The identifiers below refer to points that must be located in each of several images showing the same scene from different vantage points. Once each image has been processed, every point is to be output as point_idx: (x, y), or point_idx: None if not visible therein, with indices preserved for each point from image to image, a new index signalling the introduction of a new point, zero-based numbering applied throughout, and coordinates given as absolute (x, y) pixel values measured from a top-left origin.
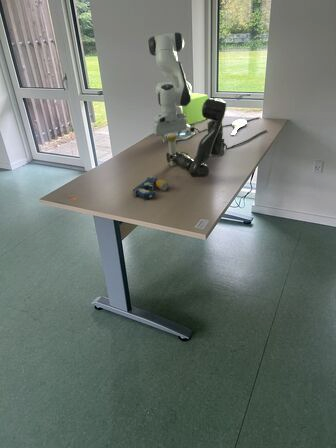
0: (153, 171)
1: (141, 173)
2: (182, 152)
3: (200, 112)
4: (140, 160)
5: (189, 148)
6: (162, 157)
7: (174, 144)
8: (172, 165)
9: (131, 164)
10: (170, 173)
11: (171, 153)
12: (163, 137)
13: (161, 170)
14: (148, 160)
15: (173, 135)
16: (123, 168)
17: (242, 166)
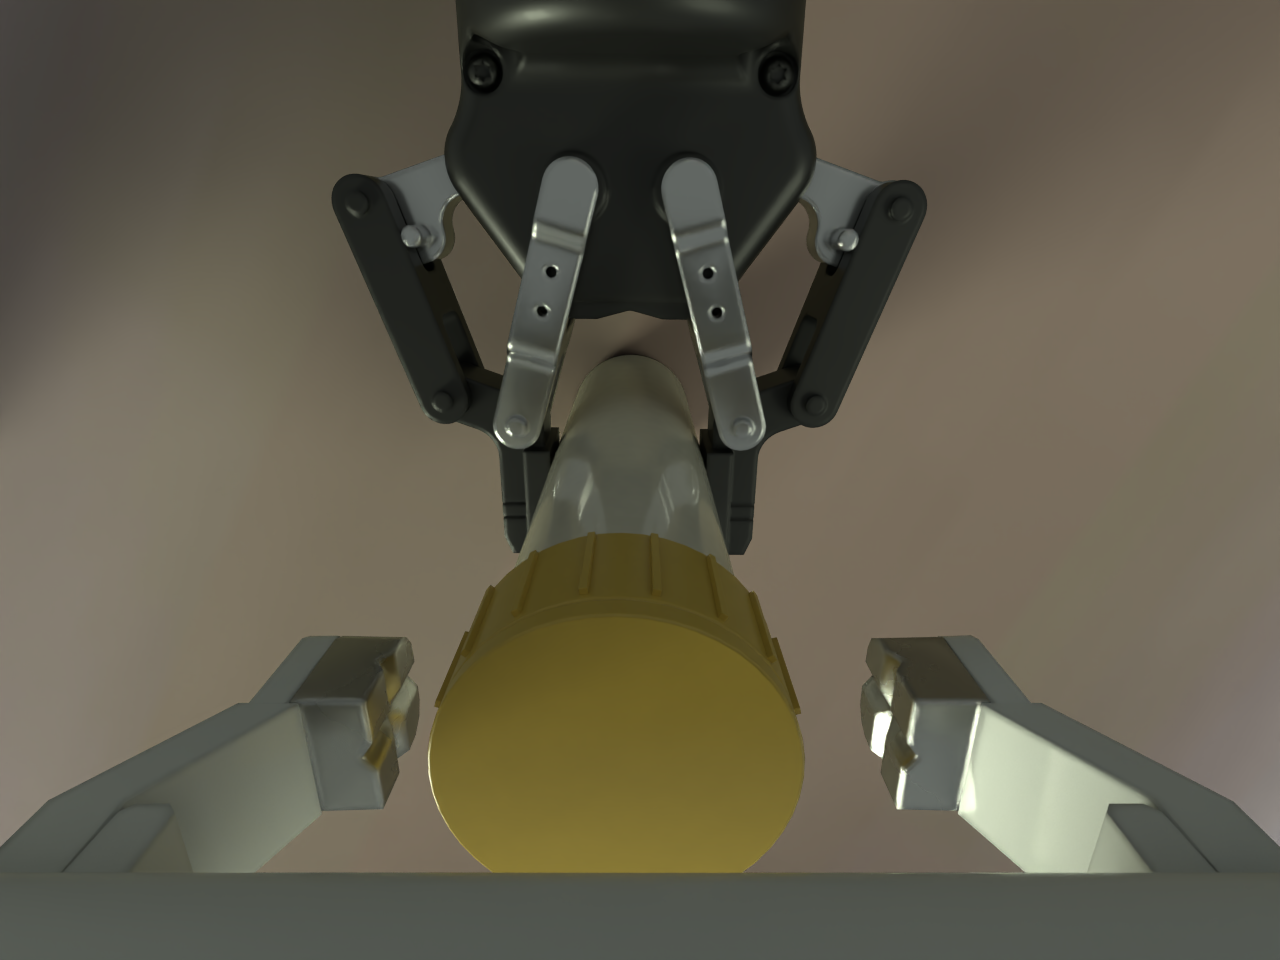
0: (1041, 351)
1: (1226, 396)
2: (427, 355)
3: None
4: (924, 822)
5: None
6: None
7: (585, 496)
8: (672, 373)
9: None
10: (882, 61)
11: (687, 437)
12: (1122, 759)
13: (920, 305)
14: (843, 766)
15: (483, 817)
16: (1263, 716)
17: None
